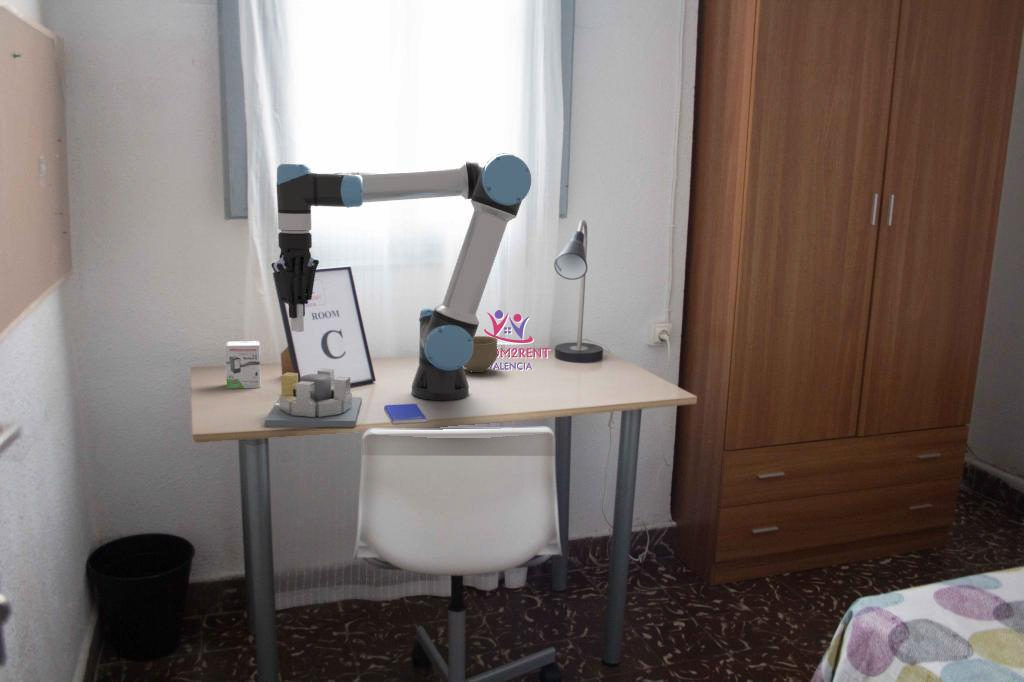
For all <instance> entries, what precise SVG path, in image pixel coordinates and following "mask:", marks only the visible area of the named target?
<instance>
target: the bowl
mask: <svg viewBox="0 0 1024 682" xmlns="http://www.w3.org/2000/svg"><path fill="white" fill-rule="evenodd" d="M473 343H474V344H473V346H474V348H473V353H472V356H471V358H470V360H469V361H468V362H467V363H466V364H465V365H464V366H463V368H465V369H467V370H468V371H469V372H470V371H472V372H481V373H484V371H485V372H486V371H487V369H488V368H491V366H492V365H493V364H494V363H495V362H496V360H497V358H498V338H497V337H494V336H486V335H485V336H484V335H475V337H474V340H473ZM472 372H471V373H472Z"/></svg>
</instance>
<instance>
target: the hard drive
mask: <svg viewBox="0 0 1024 682" xmlns="http://www.w3.org/2000/svg"><path fill="white" fill-rule="evenodd" d="M383 409H384V412H385V413H386V415H387V416H388V418H389V420H390V422H391V423H392V425H396V424H411V423H412V424H413V423H427V422H428V418H427V417H426V415H425V414H424V412H423V411H422V410H421V408H420V407H419V406H418V404H416V403H407V404H406V403H403V404H402V403H401V404H385V405H384V408H383Z"/></svg>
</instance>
